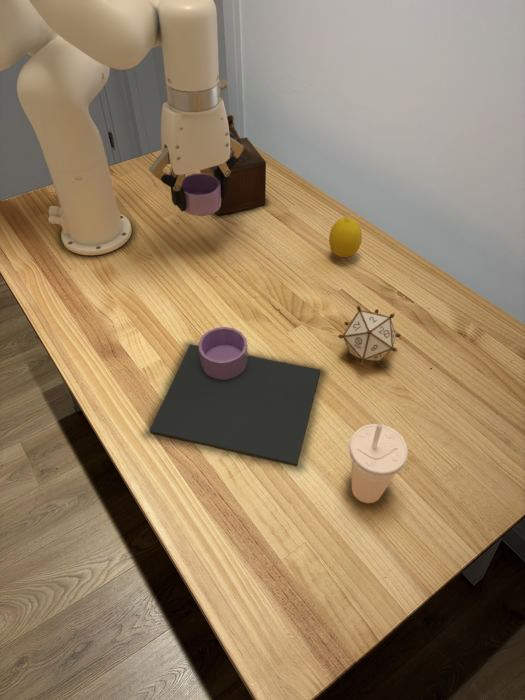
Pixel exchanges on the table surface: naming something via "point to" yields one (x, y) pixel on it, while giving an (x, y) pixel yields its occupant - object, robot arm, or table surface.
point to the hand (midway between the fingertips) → (200, 200)
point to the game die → (370, 336)
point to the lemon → (345, 237)
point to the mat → (240, 408)
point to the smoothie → (375, 460)
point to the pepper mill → (243, 177)
